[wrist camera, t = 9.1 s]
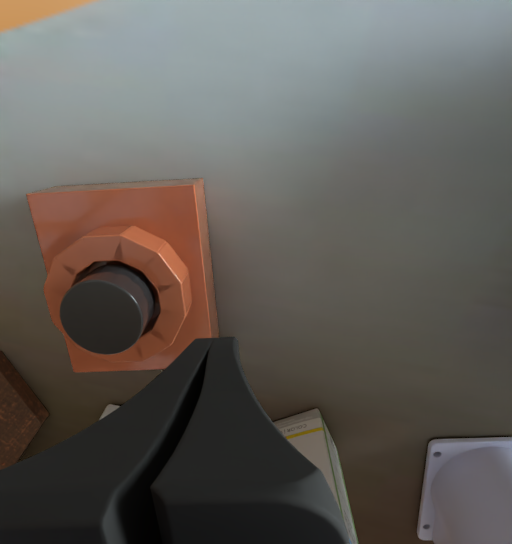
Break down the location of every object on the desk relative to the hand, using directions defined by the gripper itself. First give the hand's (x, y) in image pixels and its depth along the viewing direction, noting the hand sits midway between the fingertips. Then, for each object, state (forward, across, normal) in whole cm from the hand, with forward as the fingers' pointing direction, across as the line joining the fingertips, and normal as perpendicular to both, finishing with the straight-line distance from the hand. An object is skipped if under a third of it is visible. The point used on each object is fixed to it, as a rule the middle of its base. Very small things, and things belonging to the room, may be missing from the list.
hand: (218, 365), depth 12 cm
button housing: (+10, +6, 0) cm, 12 cm away
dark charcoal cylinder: (+6, +6, 0) cm, 8 cm away
